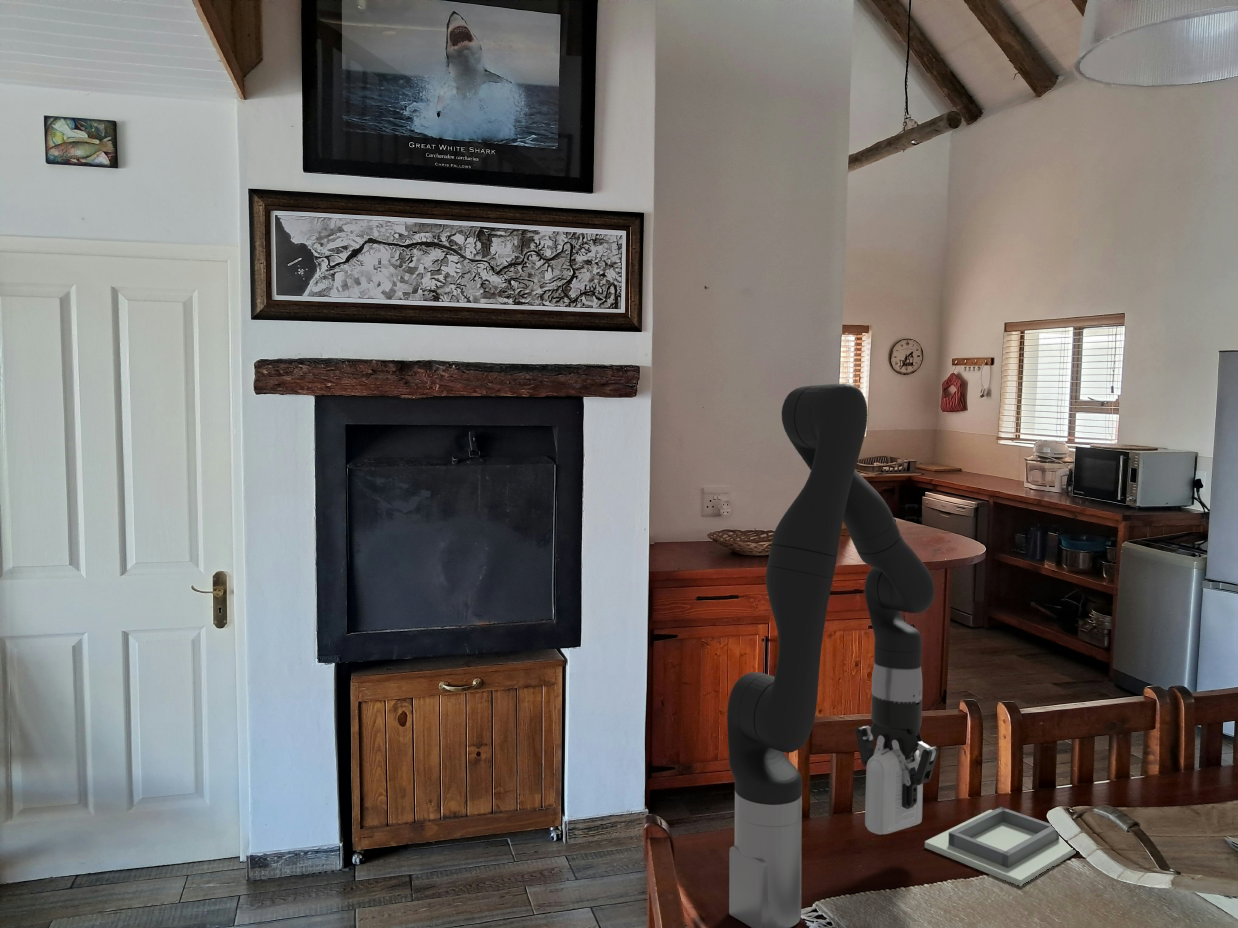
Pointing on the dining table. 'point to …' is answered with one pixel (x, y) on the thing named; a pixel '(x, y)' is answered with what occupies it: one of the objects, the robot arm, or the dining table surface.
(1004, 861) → the dock
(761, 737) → the robot arm
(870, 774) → the grey rounded block
